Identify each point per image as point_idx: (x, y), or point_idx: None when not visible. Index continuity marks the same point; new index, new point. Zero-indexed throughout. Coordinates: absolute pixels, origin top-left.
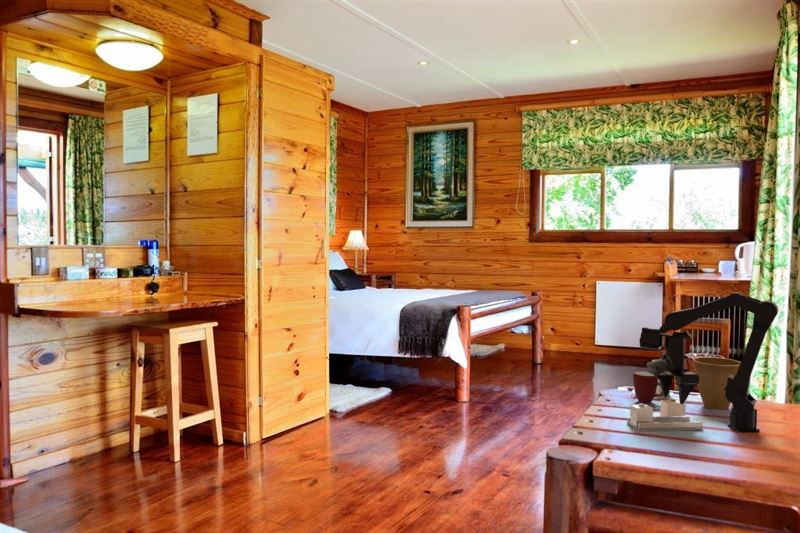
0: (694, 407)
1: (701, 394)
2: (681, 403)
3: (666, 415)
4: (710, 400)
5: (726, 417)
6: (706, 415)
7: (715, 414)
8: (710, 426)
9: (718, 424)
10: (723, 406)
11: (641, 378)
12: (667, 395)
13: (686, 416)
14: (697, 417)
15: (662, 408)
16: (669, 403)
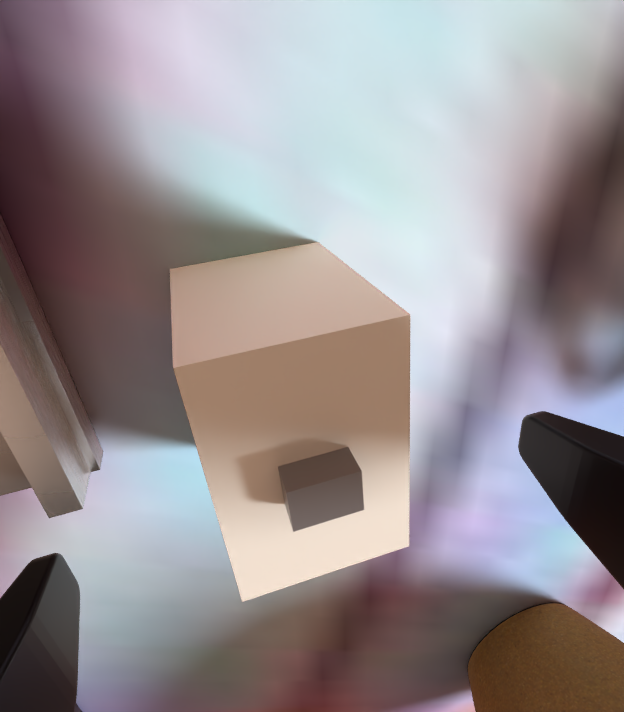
0: (544, 558)
1: (606, 670)
2: (34, 574)
3: (189, 281)
4: (524, 679)
5: (316, 676)
6: (362, 595)
7: (384, 635)
8: None
9: (109, 640)
10: (473, 691)
11: None
12: (532, 467)
13: (32, 483)
14: None
15: (309, 283)
16: (181, 395)
